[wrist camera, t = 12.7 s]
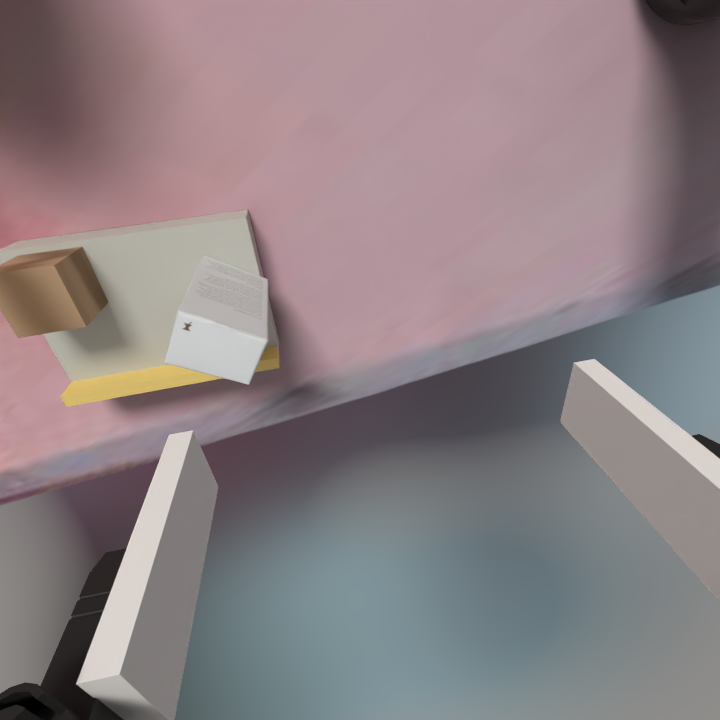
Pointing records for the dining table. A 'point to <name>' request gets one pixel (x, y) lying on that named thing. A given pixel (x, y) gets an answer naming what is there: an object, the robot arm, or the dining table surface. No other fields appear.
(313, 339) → the dining table surface
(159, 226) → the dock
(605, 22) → the dining table surface
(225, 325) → the skincare box
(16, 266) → the tan wooden cube
